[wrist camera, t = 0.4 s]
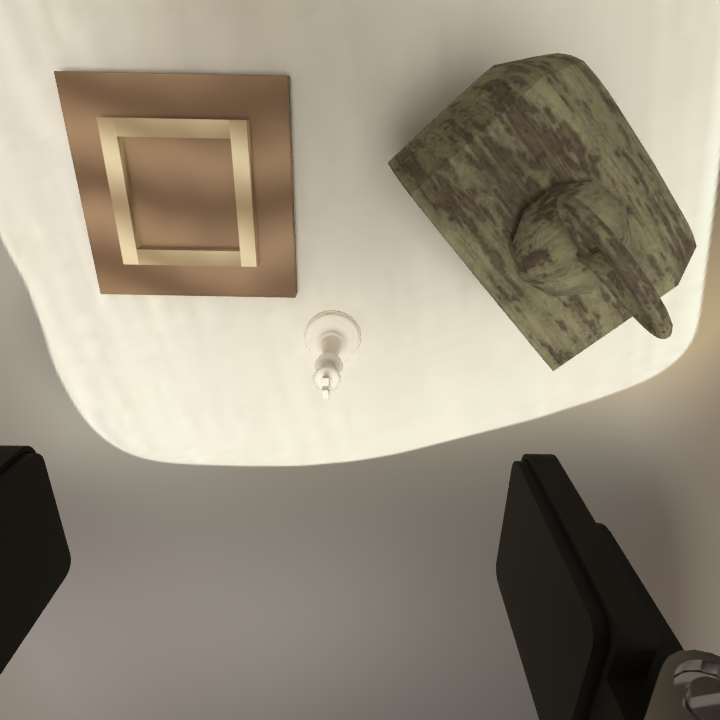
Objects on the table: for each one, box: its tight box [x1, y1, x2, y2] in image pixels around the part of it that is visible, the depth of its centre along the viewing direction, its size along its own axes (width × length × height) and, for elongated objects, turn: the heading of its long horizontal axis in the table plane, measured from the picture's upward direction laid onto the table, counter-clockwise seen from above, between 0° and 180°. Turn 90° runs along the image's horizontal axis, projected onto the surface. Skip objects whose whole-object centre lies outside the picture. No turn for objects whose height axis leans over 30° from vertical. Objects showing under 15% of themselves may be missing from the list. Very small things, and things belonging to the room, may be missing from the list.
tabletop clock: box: [388, 53, 696, 371], centre depth 28 cm, size 14×9×25 cm, turn 42°
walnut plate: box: [54, 71, 297, 298], centre depth 39 cm, size 16×16×2 cm
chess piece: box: [305, 311, 361, 399], centre depth 41 cm, size 5×5×10 cm
